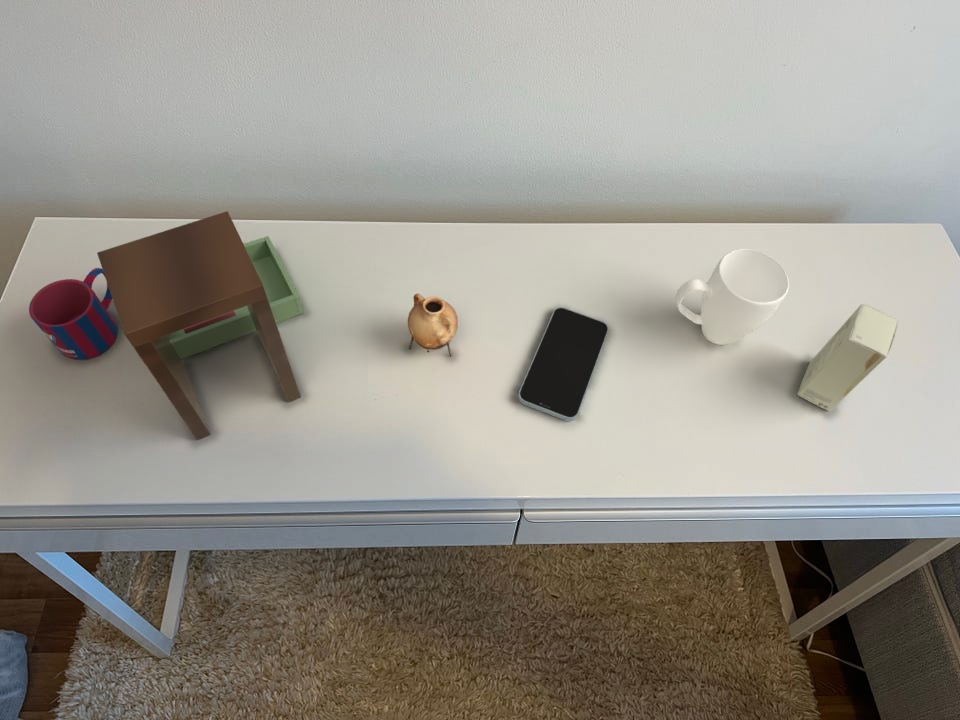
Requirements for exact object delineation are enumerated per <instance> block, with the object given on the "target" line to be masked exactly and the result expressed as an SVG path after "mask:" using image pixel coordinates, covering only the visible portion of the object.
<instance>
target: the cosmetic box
mask: <svg viewBox="0 0 960 720" xmlns="http://www.w3.org/2000/svg"><path fill="white" fill-rule="evenodd" d="M899 322H900V321H899V319H898V318H895V317H893V316H891V315H889V314H887V313H885V312H883V311H881V310H879V309H877V308H875V307H873V306H870V305H869V304H866V303H864V302H862V303H860V305H859V306H858V307H857V308H856V310H855V311H854V312H852V314H851V315H850V316H849V317H848V319H847V320H846V321H845V322H843V324H842V325H841V326H840V328H839V329H837V331H836V332H835V333H834V334H833V336H831V338H830V339H829V340H828V341H827V342H826V343H825V345H823V346H822V348H821V349H820V350H819V351H818V352H817V353H816V355H815V356H814V357H813V358H812V359H811V360H810V362H809V364H808V366H807V368H806V370H805V373H804V375H803V378H802V380H801V383H800V384H799V388H798V391H797V396H798V397H800V398H802V399H803V400H806V401H808V402H810V403H811V404H813V405H815V406H817V407H818V408H821V409H823V410H825V411H828V412H831V411H832V410H833V409H834V408H836V406H837V405H838V404H839V403H840V402H841V401H842V400H843V399H844V398H845V397H846V396H848V395H849V394H850V393H851V392H852V391H853V390H854V389H855V388H856V387H857V386H858V385H859V384H860V383H861V382H862V381H863V380H864V379H865V378H866V377H868V376H869V374H870V373H871V372H873V371H874V370H875V369H876V368H877V367H878V366H879V365H880V364H881V363H882V362H883V361H884V360H886V358H887V357H888V356H889V354H890V351H891V349H892V346H893V343H894V340H895V336H896V333H897V330H898V325H899Z"/></svg>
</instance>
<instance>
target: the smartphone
mask: <svg viewBox="0 0 960 720" xmlns="http://www.w3.org/2000/svg"><path fill="white" fill-rule="evenodd" d="M609 329H610V328H609V325H608V323H606V322H605V321H602V320H600V319H597V318H594V317H592V316H589V315H586V314H583V313H581V312H578V311H575V310H572V309H570V308H567V307H564V306H563V307H562V306H560V307H556V308H555V309H554V310H553V311H552V314H551V316H550V318H549V321H548V323H547V326H546V328H545V329H544V332H543V334H542V338H541V339H540V342H539V344H538V347H537V349H536V351H535V353H534V355H533V358H532V360H531V362H530V365H529V368H528V369H527V372H526V374H525V377H524V379H523V381H522V384H521V386H520V388H519V391H518V396H517V397H518V401H519V402H520V403H521V404H522V405H524V406H526V407H529V408H532V409H534V410H537V411H539V412H542V413H545V414H547V415H550V416H553V417H555V418H558V419H559V420H563V421H565V422H572V421H574V420H576V418H577V417H578V416H579V413H580V410H581V407H582V406H583V403H584V400H585V398H586V394H587V392H588V389H589V386H590V383H591V380H592V377H593V375H594V372H595V369H596V366H597V363H598V361H599V358H600V355H601V353H602V350H603V347H604V344H605V341H606V339H607V336H608V333H609Z"/></svg>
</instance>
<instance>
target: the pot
mask: <svg viewBox="0 0 960 720" xmlns="http://www.w3.org/2000/svg"><path fill="white" fill-rule="evenodd" d="M412 298H413V307H412V308H411V309H410V311H409V312H408V316H407V328H408V331H409V333H410V336H411V338H410V342H409V345H408V350H411V349H412V346H413V343H414V341H415V343H416V344H417V345H419V346H420V347H421V348H423V349H427V351H426V352H427V353H430V351H431V350H432V351H435V350H440V349H443V348H444V347H446V346H447V351H448V354H449V357H450V358H451V357H453V354H452V353H453V352H452V350H451V345H450V342H451V340H452V339H453V338H454V336H455V335H456V333H457V330H458V324H459V320H458V319H459V318H458V315H457V314H458V313H457V312H456V310H455V308H454V307H453V306H452V305H451V304H450V303H449V302H447V301H446V300H443V299H441V298H440V297H438V296H429V297H426V298H425V297H424V296H423V295H422V294H420V293H415V294H414V295H413V297H412Z"/></svg>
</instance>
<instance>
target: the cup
mask: <svg viewBox="0 0 960 720" xmlns="http://www.w3.org/2000/svg"><path fill="white" fill-rule="evenodd" d="M101 274H102V275H103V276H104V277H105V275H104V272H103V269H102V267H95V268H93V269H91V270H90V271H89V273H88V274H86V275H85V278H84V279H83V280H80V279H75V278H66V279H65V278H64V279H60V280H56V281H53V282H50V283H49V284H47V285H45V286H43V287H42V288H40V289H39V290H38V291H37V292H36V293H35V294H34V296H32V299H30V300H31V301H30V303H29V305H28V306H29V307H28V313H29V316H30V318H31V320H32V321H33V322H34V324H35V325H36V326H37V327H38V328H39V329H40V331H42V332H43V334H44V335H45V336H46V337H47V338H48V340H49V341H50V342H51V343H52V344H53V345H54V346H55V347H56V348H57V350H58V351H59V352H60V353H61V354H62V355H63V356H64V357H66V358H68V359H72V360H74V361H75V360H78V361H84V360H90V359H93V358H96V357H98V356H101V355H102V354H105V352H107V351H108V350H109V349H110V348H111V347H112V346H113V344H114V343H115V342H116V339H117V338H118V337H117V336H118V325H117V323H116V321H115V320H114V318H113V317H112V315H111V314H110V313H109V311H108V309H109V308H110V306H111V303H112V302H113V299H112V296H111V293H110V290H109V287H108V284H107V283H106V291H105V294H104V296H103V299H102V300H100V298H99V297H98V296H97V293H96V292H95V291H94V290H93V288H92V287H93V284H94V282H95V279H96V278H97V277H98V276H99V275H101Z"/></svg>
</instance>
